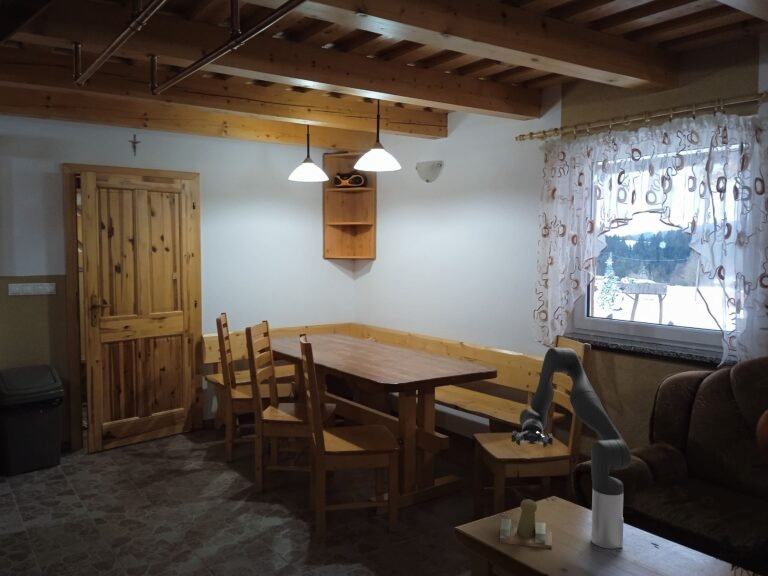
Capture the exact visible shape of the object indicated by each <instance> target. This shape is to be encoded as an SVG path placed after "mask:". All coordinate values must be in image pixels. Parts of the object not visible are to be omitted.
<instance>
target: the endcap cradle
mask: <svg viewBox="0 0 768 576" xmlns="http://www.w3.org/2000/svg"><path fill="white" fill-rule="evenodd" d="M517 528H518V526H517V527H515V526H512V519H510V518H503V517H502V518H501V524H500V531H499V533H500V535H499V537H500V538H499V543H503V544H512V545H518V544H519V545H521V546H528V547H535V548H536V547H537V548H543V549H552V548H553V543H552V541H553V540H552V539H553V538H552V536H553V535H552V531H548V530H546V522H537V521H535V537H533V538H526V537H522V536H520V535H519V534H518V533H517ZM519 545H518V546H519Z"/></svg>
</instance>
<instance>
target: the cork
mask: <svg viewBox="0 0 768 576" xmlns="http://www.w3.org/2000/svg"><path fill="white" fill-rule="evenodd" d="M537 505H538V504H537V502H536V501H534V500H533V499H528V498H526V499H522V501H520V509H521V512H520V515H519V516H520V517H519V522H518V524H517V533H518V534H519V535H520V536H522V537H526V538H533V537H535V530H536V512H537V510H538V506H537Z"/></svg>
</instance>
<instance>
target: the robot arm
mask: <svg viewBox="0 0 768 576" xmlns="http://www.w3.org/2000/svg"><path fill="white" fill-rule="evenodd" d="M545 353H546V354H545V356H544V359H543V363H542V366H541V371H540V376H539V380H538V385H537V387H536V389H535V393H534V395H533V397H532V400H531V401H530V408H525V409H523V410H522V411H521V412H520V415H519V424H520V425H521V427H522V428H521V429H522V430H521V432H520V433H519V432H517V430H512V431H511V432H512V433H511V442H512V443H515V444H517V446H521V443H522V444H524V443H527V444H530V445H536V444H538V445H543V446H542V448H546V447H548V445H550V446H552V445H554V443H553V439H554V437H553V433H548V434H545V433H544V430H545V429H546V427H547V422H548V413H549V409H550V407H551V405H552V402H553V401H554V396H555V389H554V386H553V382H552V377H553V375H554V374H555V373H558V374H559V373H561V374H563V373H564V374H565V373H566V374H567V375H569V377H570V379H571V381H572V384H571V385H572V386H571V388H570V393H569V403H570V405H571V407H572V409H573V411H574V413H575V414H576V416H577V418H578V419H579V420H580V422H582V423H583V424H585V425H586V426H587V427H589V428H590V429H591V430H593V431H595V432H596V433H597V434H598V435H599V436H600V437H601V439H600V440H595V441H594V442H592V445H591V449H590V464H591V466H590V467H591V469H590V470H591V471H590V472H591V474H590V475H591V481H592V499H591V500H592V502H591V505H592V506H591V529H590V530H591V531H590V534H591V535H590V536H591V537H590V538H591V540H590V541H591V542H592V543H593V544H594V545H596V546H597V547H600V548H604V549H608V550H609V549H611V550H614V549H623V547H624V544H623V543H624V517H623V516H624V515H623V514H624V511H623V510H624V483H623V482H622V481H621V480H620V479H618V478H616V477H614V476H610V471H612V470H614V471H617V470H624V469H628V468H629V467H630V465H631V463H632V455H631V452H630V448H629V445H628V444H627V443H626V441H625V440H624V438H623V437H622V435H621V434H620V432H619V431H618V429H617V428H616V426H615V425H614V424H613V422H612V420H611V418H610V417H609V415H608V414H607V412H606V410H605V408H604V406H603V405H602V402H601V400H600V399H599V397H598V395H597V393H596V391H595V389H594V387H593V386H592V384H591V382H590V380H589V379H588V376H587V374H586V372H585V370H584V367H583V365H582V361H581V359H580V357H579V355H578V353H577V351H576V350H575V349H573V348H570V347H558V346H557V347H550V348H549V349H547V351H546V352H545Z"/></svg>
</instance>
